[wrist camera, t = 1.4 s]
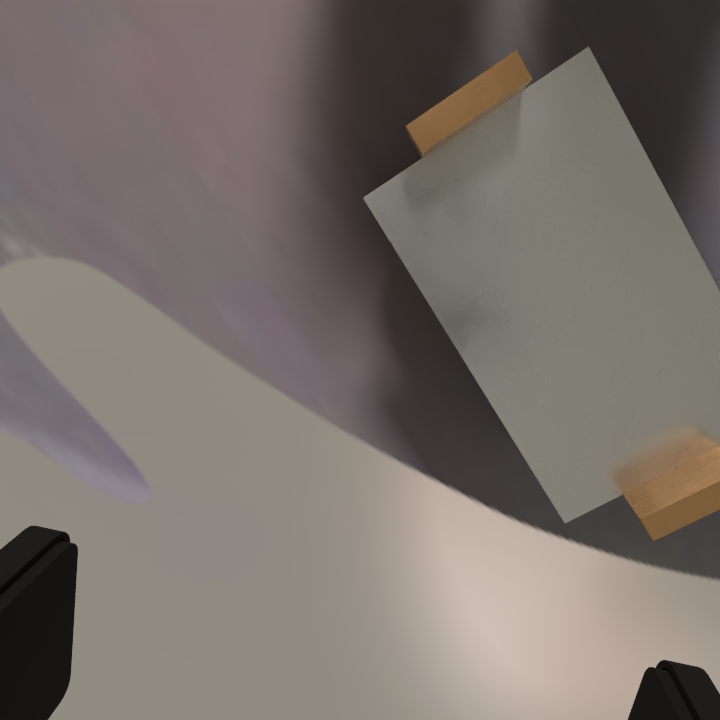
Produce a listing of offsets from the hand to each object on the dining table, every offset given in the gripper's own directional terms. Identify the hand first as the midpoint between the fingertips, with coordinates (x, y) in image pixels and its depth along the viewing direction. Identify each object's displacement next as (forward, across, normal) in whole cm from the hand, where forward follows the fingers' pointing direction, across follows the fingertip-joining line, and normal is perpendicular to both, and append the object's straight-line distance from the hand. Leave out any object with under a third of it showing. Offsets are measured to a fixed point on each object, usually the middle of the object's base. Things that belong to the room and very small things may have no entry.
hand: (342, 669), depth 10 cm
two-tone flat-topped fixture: (+26, -6, -4) cm, 27 cm away
